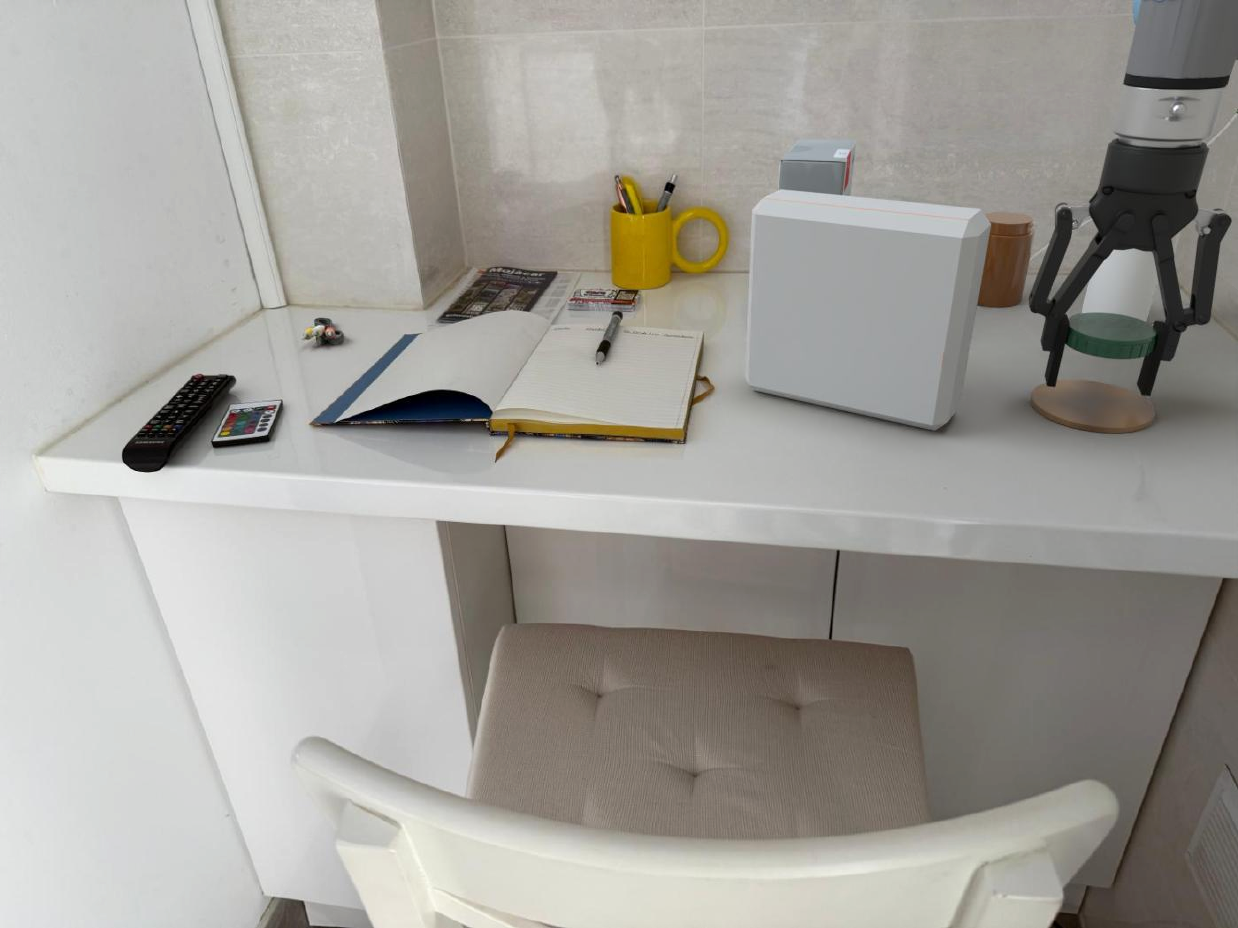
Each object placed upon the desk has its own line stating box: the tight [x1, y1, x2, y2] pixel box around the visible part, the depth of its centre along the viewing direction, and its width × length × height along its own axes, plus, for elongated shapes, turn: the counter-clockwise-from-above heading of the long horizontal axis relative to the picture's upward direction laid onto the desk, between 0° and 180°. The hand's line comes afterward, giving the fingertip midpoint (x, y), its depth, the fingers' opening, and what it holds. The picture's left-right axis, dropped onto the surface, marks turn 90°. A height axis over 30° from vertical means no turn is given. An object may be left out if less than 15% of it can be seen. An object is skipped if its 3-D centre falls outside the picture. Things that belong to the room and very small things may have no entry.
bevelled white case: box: [744, 189, 991, 432], centre depth 85 cm, size 21×8×20 cm, turn 57°
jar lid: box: [1065, 312, 1157, 360], centre depth 83 cm, size 8×8×2 cm
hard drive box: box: [777, 138, 857, 196], centre depth 110 cm, size 16×8×20 cm, turn 162°
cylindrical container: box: [1080, 249, 1159, 322], centre depth 101 cm, size 7×7×25 cm
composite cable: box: [301, 317, 346, 347], centre depth 111 cm, size 10×5×2 cm, turn 9°
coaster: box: [1030, 379, 1157, 434], centre depth 86 cm, size 11×11×1 cm
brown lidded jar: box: [977, 211, 1036, 308], centre depth 113 cm, size 7×7×10 cm
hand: (1096, 385), depth 85 cm, fingers closed on jar lid, 8 cm apart
